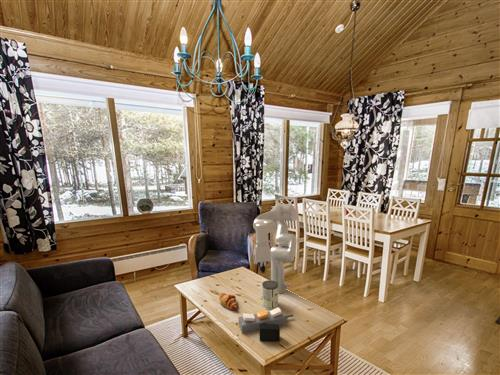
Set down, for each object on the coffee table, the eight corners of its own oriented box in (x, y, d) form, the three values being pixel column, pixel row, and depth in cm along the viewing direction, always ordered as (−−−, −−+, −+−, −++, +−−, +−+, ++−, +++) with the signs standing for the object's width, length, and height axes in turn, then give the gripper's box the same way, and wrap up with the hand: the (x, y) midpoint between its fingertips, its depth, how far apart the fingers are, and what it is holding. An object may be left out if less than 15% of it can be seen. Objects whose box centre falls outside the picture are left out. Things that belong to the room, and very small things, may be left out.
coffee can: (264, 299, 165) (264, 279, 164) (279, 301, 162) (279, 281, 160) (260, 307, 155) (260, 286, 154) (276, 310, 152) (276, 289, 151)
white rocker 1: (252, 316, 139) (253, 314, 139) (254, 321, 136) (255, 318, 136) (242, 316, 138) (243, 313, 138) (244, 320, 134) (245, 317, 134)
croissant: (217, 302, 168) (212, 294, 165) (228, 292, 172) (223, 283, 170) (232, 317, 150) (227, 308, 148) (244, 305, 155) (239, 296, 152)
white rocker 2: (279, 309, 144) (278, 307, 143) (281, 313, 140) (281, 311, 140) (269, 313, 142) (269, 311, 142) (272, 317, 138) (271, 315, 138)
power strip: (289, 314, 148) (289, 307, 148) (295, 322, 140) (295, 315, 140) (238, 323, 140) (238, 316, 139) (241, 333, 132) (241, 325, 132)
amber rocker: (266, 312, 142) (265, 309, 141) (268, 316, 138) (268, 313, 137) (256, 315, 140) (256, 313, 140) (258, 320, 136) (258, 317, 136)
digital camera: (279, 334, 131) (279, 322, 130) (279, 342, 125) (280, 329, 125) (259, 334, 131) (259, 321, 131) (259, 341, 126) (259, 328, 125)
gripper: (271, 239, 153) (271, 267, 156) (248, 242, 149) (249, 271, 152) (276, 243, 146) (276, 272, 149) (252, 246, 142) (252, 276, 144)
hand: (262, 271), depth 150 cm, fingers closed
